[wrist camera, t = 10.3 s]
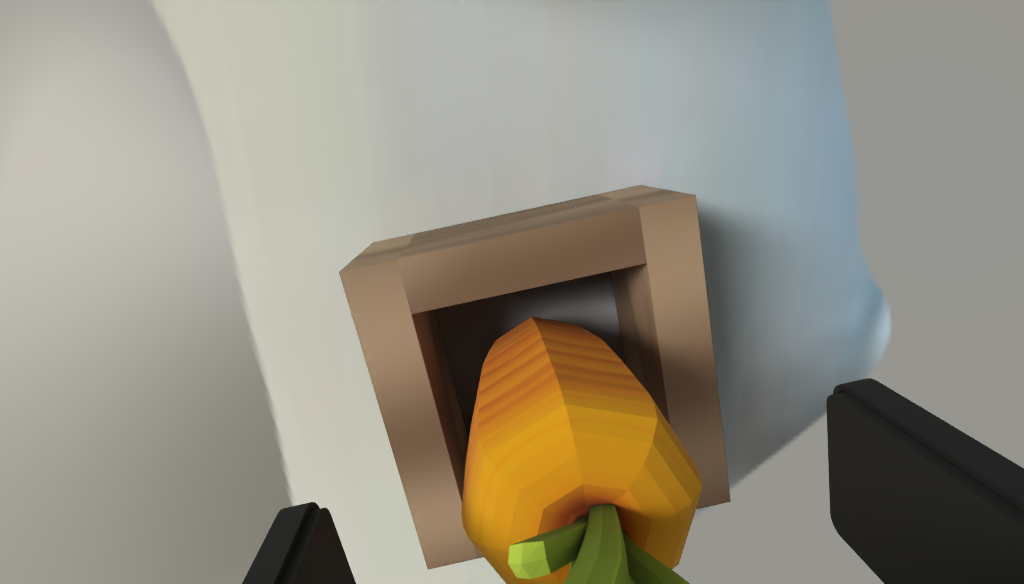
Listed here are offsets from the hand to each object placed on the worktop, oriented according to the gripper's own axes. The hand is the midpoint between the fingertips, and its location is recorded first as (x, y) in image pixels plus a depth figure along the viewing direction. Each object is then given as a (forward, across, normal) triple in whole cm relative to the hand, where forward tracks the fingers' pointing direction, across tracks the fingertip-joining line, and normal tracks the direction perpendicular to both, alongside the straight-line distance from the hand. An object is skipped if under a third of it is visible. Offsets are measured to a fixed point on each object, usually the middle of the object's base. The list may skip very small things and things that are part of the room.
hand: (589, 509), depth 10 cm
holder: (+11, 0, +1) cm, 11 cm away
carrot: (+11, 0, +1) cm, 11 cm away
